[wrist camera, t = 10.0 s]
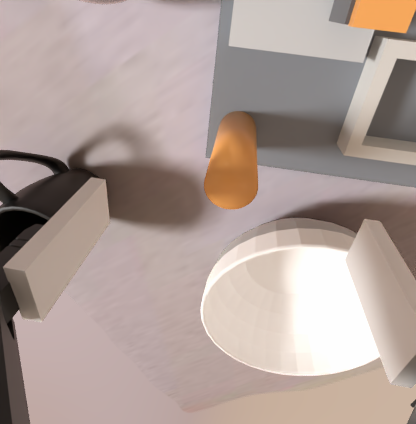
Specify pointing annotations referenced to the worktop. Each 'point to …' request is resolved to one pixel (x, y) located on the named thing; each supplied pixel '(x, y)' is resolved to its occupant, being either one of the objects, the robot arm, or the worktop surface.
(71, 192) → the mug
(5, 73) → the worktop surface
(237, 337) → the bowl
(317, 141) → the panel board
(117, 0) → the black domed piece
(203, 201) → the worktop surface
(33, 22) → the worktop surface
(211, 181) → the pin
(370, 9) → the block
